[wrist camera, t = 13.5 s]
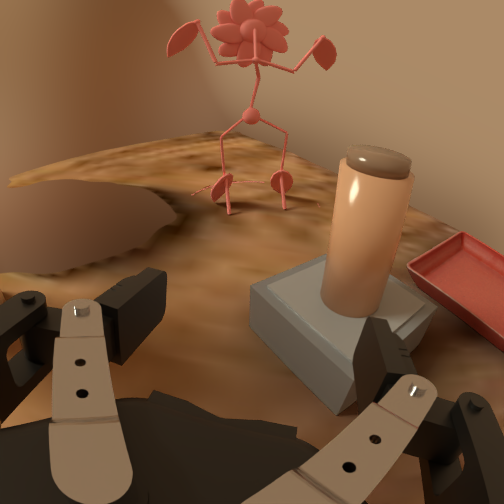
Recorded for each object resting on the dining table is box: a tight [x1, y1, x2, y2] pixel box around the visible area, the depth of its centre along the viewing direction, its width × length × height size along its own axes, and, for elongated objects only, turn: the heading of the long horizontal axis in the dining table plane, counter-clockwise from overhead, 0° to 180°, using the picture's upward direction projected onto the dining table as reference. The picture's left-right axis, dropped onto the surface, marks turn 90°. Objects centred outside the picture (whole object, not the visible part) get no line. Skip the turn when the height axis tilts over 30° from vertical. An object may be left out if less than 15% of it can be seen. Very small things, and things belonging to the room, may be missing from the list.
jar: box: [320, 145, 414, 318], centre depth 22 cm, size 5×5×12 cm
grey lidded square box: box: [249, 254, 438, 416], centre depth 27 cm, size 12×12×5 cm
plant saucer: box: [407, 231, 504, 352], centre depth 32 cm, size 18×18×3 cm
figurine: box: [167, 0, 337, 214], centre depth 47 cm, size 15×26×35 cm, turn 104°
